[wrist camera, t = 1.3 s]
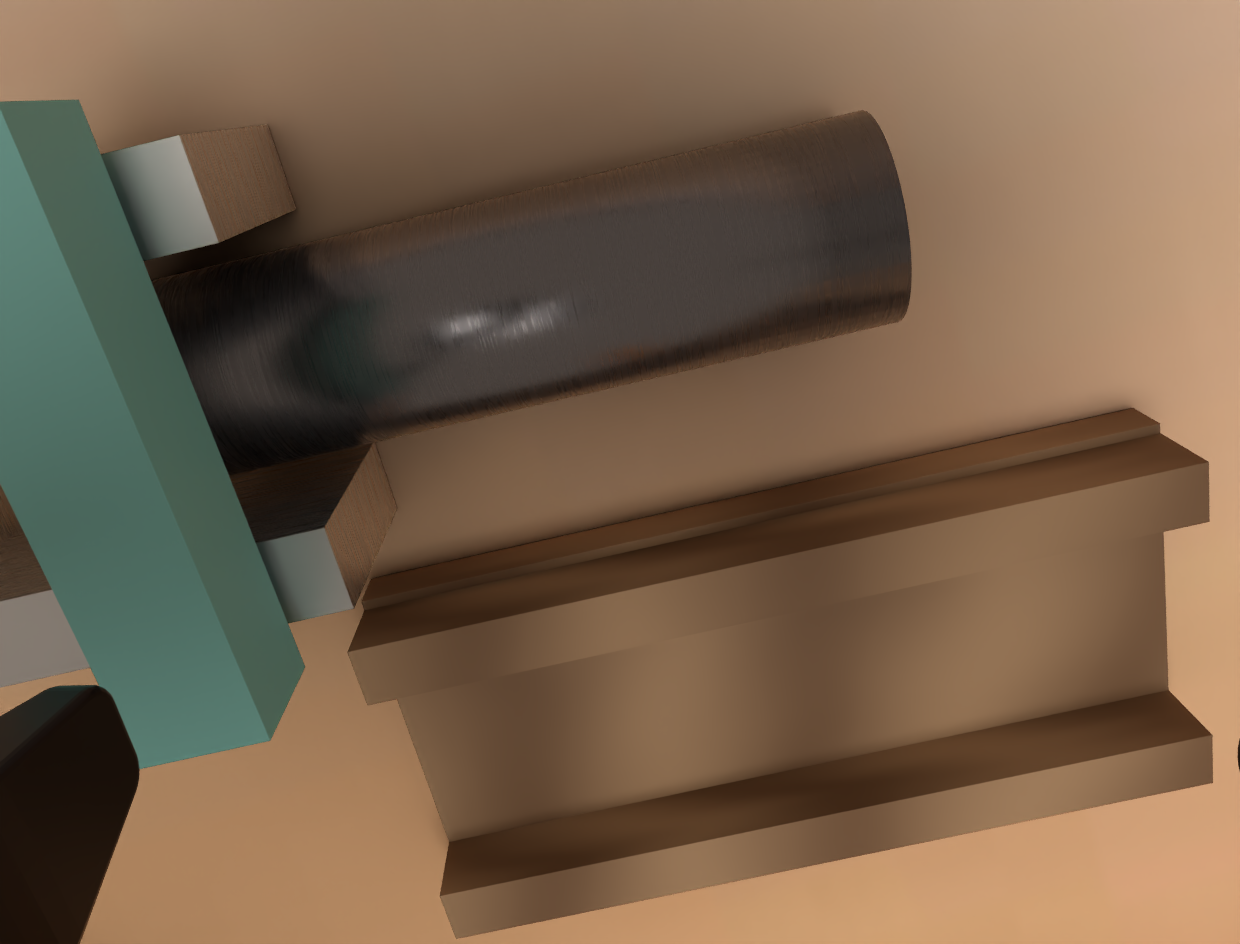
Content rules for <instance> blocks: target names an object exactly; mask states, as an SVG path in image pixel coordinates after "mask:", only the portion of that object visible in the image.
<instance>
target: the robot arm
mask: <svg viewBox="0 0 1240 944" xmlns="http://www.w3.org/2000/svg"><path fill="white" fill-rule="evenodd" d="M1238 765H1239V770H1240V740H1239V745H1238ZM138 781H139V761H138V757H137V754H136V751H135V749H134V746H133V744H132V742H131V739H130V737H129V734H128V732H127V730H126V727H125V725H124V722H123V720H122V718H121V715H120V713H119V710H118V708H117V706H116V703H115V701H114V699H113V697H112V695H111V694H110V693H109V692H108V691H107V690H106V689H104V688H103V687H100V686H96V685H76V686H56V687H52V688H49V689H47V690H45V691H43V692H41V693H39V694H38V695H36V696H34V697H33V698H31V699H29V700H27V701H26V702H24V703H22V704H21V705H19V706H17V707H15V708H14V709H12V710H10V711H9V712H7V713H5V714H3V715H2V716H0V944H80V941H81V939H82V936H83V934H84V931H85V928H86V926H87V923H88V920H89V918H90V915H91V912H92V909H93V907H94V904H95V901H96V899H97V896H98V893H99V890H100V888H101V885H102V882H103V880H104V877H105V874H106V871H107V869H108V866H109V863H110V861H111V858H112V855H113V852H114V850H115V847H116V844H117V842H118V839H119V836H120V833H121V831H122V828H123V825H124V823H125V820H126V817H127V814H128V812H129V809H130V806H131V804H132V801H133V798H134V795H135V793H136V790H137V786H138Z"/></svg>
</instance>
